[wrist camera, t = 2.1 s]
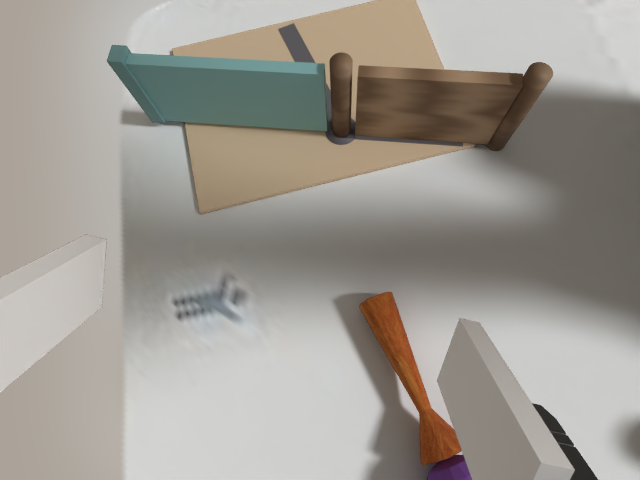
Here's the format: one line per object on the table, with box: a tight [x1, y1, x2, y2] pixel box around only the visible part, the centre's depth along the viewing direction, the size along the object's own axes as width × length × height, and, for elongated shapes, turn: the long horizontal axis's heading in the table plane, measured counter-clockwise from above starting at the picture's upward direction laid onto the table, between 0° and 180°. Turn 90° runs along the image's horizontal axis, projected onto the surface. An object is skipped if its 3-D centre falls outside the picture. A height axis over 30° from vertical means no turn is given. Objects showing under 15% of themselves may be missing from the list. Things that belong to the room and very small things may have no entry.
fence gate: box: [107, 45, 328, 131], centre depth 42 cm, size 20×2×10 cm, turn 84°
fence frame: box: [329, 52, 553, 151], centre depth 41 cm, size 18×2×11 cm, turn 84°
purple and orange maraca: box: [359, 292, 472, 480], centre depth 36 cm, size 6×6×20 cm
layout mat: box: [172, 0, 476, 214], centre depth 48 cm, size 30×22×1 cm
